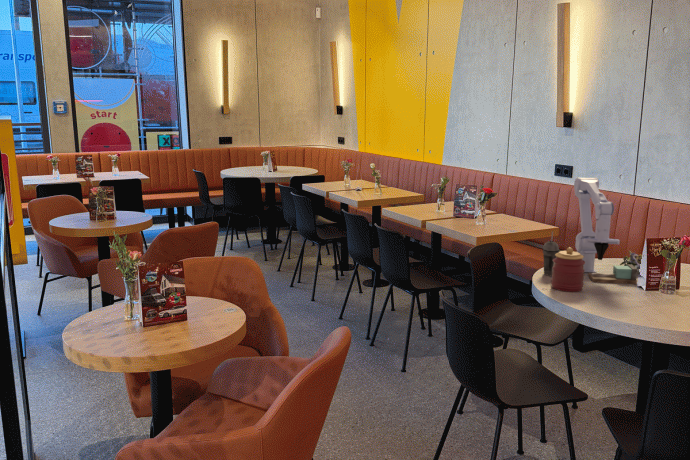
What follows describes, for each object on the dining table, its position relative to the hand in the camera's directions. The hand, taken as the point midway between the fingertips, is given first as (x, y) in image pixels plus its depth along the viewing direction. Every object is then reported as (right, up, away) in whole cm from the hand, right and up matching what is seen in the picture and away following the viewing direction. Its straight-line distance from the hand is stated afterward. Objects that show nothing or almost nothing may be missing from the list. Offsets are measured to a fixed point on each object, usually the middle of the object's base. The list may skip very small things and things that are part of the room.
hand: (599, 259), depth 264 cm
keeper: (+10, -8, +1) cm, 13 cm away
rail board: (+6, -9, +2) cm, 11 cm away
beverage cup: (-19, -8, +11) cm, 23 cm away
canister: (-18, -12, -10) cm, 24 cm away
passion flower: (+22, -7, +16) cm, 28 cm away
